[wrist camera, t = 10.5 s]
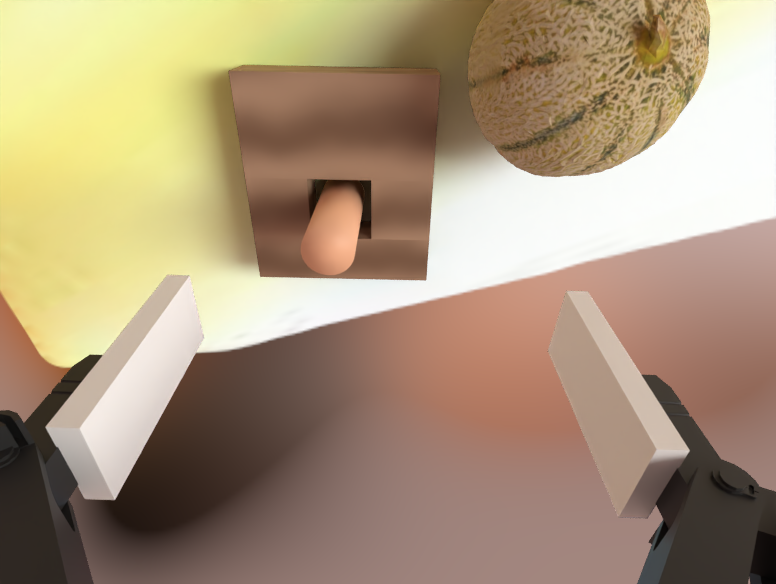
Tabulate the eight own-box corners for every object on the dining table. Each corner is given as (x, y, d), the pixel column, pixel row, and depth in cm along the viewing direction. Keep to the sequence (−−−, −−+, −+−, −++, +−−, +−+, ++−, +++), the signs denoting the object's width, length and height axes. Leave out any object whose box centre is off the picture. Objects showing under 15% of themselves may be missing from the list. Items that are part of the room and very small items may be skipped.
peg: (321, 173, 43) (298, 226, 33) (364, 174, 43) (354, 227, 33) (324, 213, 45) (302, 274, 35) (364, 214, 45) (355, 275, 35)
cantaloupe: (443, 138, 41) (463, 199, 28) (476, -68, 33) (526, -113, 20) (604, 156, 42) (695, 224, 29) (675, -43, 34) (842, -70, 21)
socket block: (243, 64, 38) (228, 70, 35) (436, 68, 38) (440, 74, 34) (270, 257, 48) (260, 276, 44) (424, 260, 47) (426, 280, 44)
